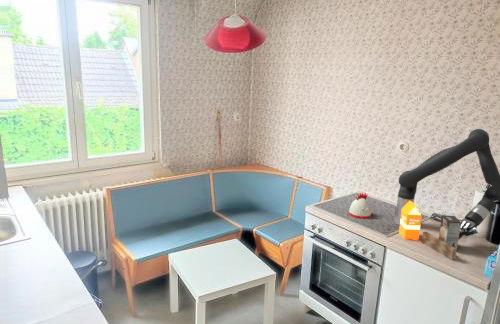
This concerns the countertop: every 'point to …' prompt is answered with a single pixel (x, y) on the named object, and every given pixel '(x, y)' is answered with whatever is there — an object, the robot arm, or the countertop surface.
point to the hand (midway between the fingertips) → (455, 238)
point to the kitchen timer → (360, 207)
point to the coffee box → (450, 230)
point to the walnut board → (439, 245)
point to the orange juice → (410, 221)
